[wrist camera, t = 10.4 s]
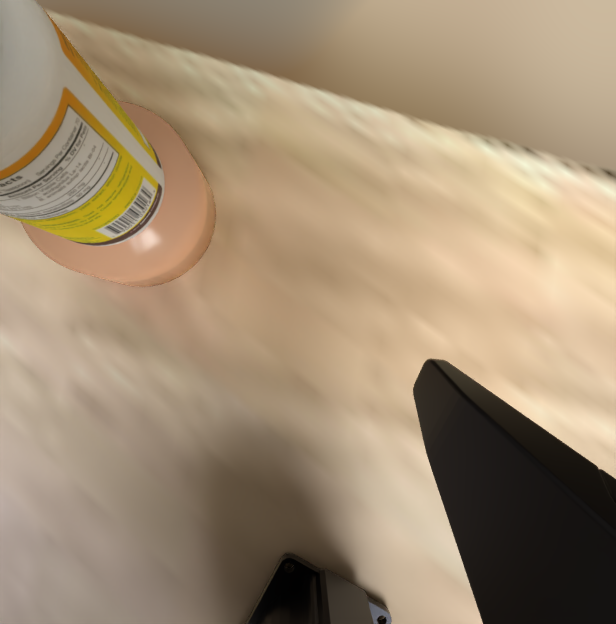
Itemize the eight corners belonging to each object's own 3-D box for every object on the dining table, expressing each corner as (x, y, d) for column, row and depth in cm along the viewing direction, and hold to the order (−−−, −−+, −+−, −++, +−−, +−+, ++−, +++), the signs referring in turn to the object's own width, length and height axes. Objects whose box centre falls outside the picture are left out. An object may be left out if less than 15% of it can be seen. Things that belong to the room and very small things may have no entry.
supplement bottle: (49, 124, 17) (-348, -206, 6) (173, 132, 17) (-22, -181, 7) (37, 247, 16) (-400, 105, 6) (165, 254, 16) (-55, 126, 6)
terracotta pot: (168, 313, 20) (136, 308, 16) (42, 241, 20) (-22, 219, 16) (241, 189, 21) (228, 154, 17) (118, 119, 21) (74, 68, 17)
